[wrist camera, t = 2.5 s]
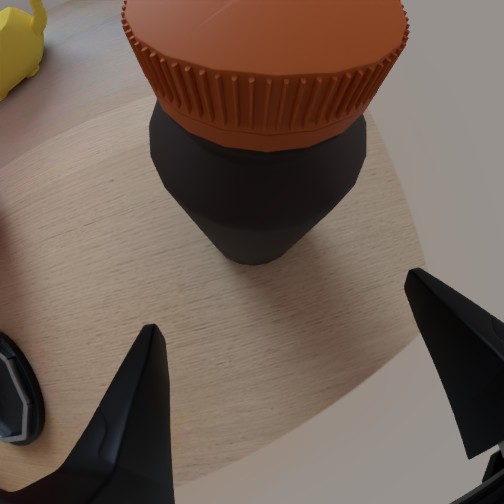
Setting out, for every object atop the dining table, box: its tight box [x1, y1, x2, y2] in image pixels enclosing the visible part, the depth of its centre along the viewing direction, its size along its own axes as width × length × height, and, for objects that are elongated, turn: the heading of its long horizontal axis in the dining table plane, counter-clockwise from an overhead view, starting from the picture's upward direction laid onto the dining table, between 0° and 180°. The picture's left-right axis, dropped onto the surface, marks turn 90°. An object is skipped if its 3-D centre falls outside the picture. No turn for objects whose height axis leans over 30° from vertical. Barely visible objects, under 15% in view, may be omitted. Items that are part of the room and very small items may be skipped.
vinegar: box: [121, 0, 410, 265], centre depth 13 cm, size 7×7×20 cm
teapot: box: [0, 0, 47, 101], centre depth 20 cm, size 18×11×11 cm, turn 116°
